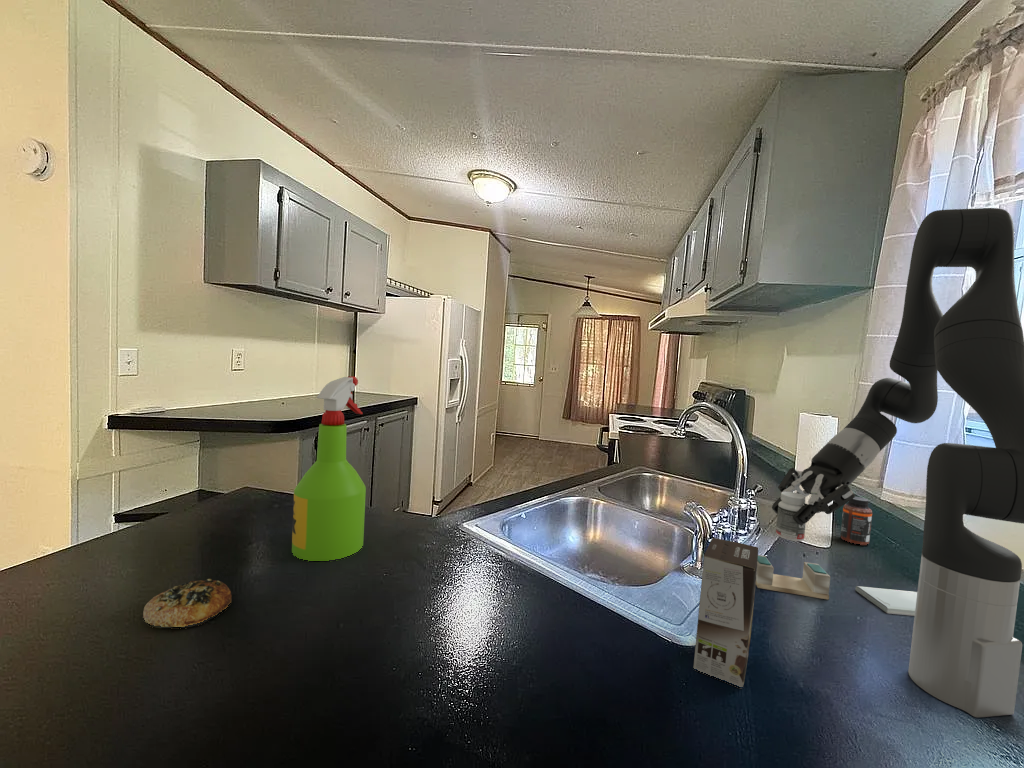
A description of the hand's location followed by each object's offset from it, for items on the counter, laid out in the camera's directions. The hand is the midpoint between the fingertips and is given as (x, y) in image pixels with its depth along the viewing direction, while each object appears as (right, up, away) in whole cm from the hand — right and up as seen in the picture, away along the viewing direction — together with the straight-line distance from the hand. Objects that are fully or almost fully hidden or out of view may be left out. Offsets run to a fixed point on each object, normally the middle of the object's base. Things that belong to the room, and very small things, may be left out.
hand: (786, 516), depth 87 cm
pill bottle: (+1, -4, +1) cm, 5 cm away
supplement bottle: (+35, -15, +28) cm, 47 cm away
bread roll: (-102, -9, -19) cm, 104 cm away
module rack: (+1, -14, +1) cm, 14 cm away
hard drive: (+20, -16, -3) cm, 26 cm away
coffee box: (-23, -14, -23) cm, 36 cm away
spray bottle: (-90, -8, +7) cm, 91 cm away
